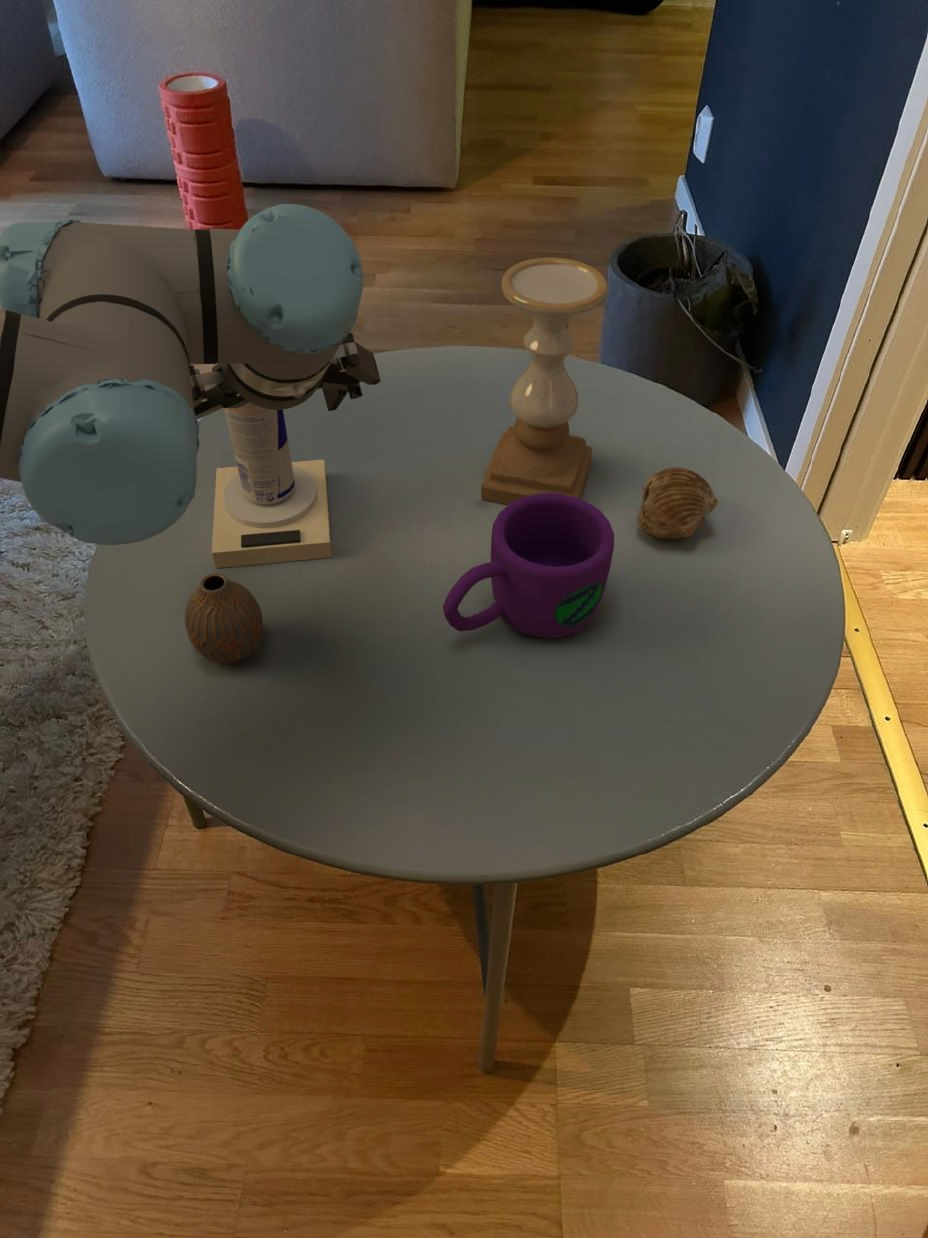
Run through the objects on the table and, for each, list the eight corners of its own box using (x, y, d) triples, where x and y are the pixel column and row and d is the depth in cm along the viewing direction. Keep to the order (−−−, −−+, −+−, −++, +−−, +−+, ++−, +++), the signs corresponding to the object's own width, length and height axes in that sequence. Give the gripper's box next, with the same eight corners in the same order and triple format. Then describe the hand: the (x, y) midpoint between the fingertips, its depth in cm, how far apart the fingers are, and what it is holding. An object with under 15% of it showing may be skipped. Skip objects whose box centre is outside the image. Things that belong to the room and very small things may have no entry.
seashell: (711, 512, 102) (641, 492, 103) (730, 461, 96) (657, 440, 98) (698, 563, 95) (624, 541, 97) (718, 511, 90) (640, 489, 91)
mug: (559, 551, 96) (568, 476, 89) (625, 619, 89) (641, 544, 82) (415, 612, 90) (412, 537, 82) (475, 690, 83) (477, 616, 76)
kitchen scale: (215, 568, 94) (210, 546, 92) (220, 483, 103) (215, 462, 101) (332, 557, 95) (329, 536, 93) (326, 474, 104) (323, 453, 102)
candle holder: (575, 517, 100) (602, 316, 82) (479, 499, 102) (485, 299, 84) (592, 458, 107) (619, 262, 89) (502, 443, 109) (511, 248, 91)
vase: (182, 667, 85) (159, 602, 78) (213, 615, 89) (194, 549, 83) (251, 681, 84) (234, 617, 77) (278, 627, 88) (265, 562, 82)
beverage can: (303, 497, 97) (285, 374, 86) (254, 513, 95) (228, 390, 84) (284, 468, 100) (263, 347, 89) (235, 484, 98) (208, 361, 87)
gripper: (112, 436, 61) (133, 482, 81) (455, 363, 68) (395, 422, 88) (79, 326, 60) (108, 400, 81) (428, 263, 67) (374, 346, 87)
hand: (258, 411), depth 84 cm, fingers open, 13 cm apart
